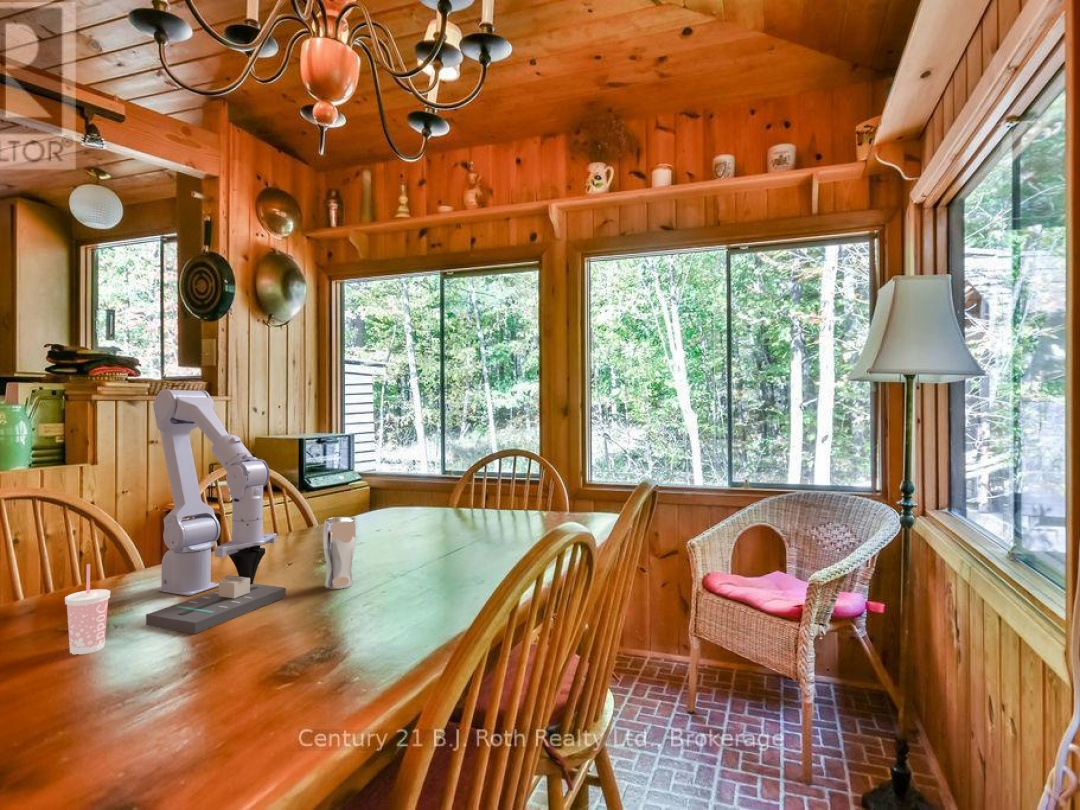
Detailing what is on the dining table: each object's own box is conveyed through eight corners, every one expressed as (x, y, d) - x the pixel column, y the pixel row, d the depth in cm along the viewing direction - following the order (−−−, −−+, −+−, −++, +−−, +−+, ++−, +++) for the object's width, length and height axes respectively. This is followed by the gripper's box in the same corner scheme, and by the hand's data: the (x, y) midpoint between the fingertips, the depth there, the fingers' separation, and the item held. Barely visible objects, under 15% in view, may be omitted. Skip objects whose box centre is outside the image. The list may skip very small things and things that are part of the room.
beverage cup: (80, 658, 95) (81, 571, 95) (54, 653, 98) (55, 567, 98) (118, 644, 101) (119, 561, 101) (94, 639, 103) (95, 558, 103)
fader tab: (217, 596, 120) (218, 578, 120) (234, 590, 124) (234, 572, 124) (234, 598, 119) (235, 580, 119) (250, 592, 123) (250, 575, 123)
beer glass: (345, 591, 132) (345, 522, 132) (316, 588, 133) (317, 521, 133) (360, 582, 138) (361, 517, 138) (333, 580, 140) (334, 515, 140)
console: (146, 625, 110) (146, 613, 110) (241, 590, 131) (241, 581, 131) (195, 634, 106) (195, 622, 106) (285, 597, 127) (285, 587, 127)
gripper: (234, 526, 116) (233, 596, 116) (288, 514, 130) (287, 576, 130) (206, 524, 119) (205, 592, 119) (262, 512, 132) (261, 573, 132)
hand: (246, 584), depth 125 cm, fingers closed
